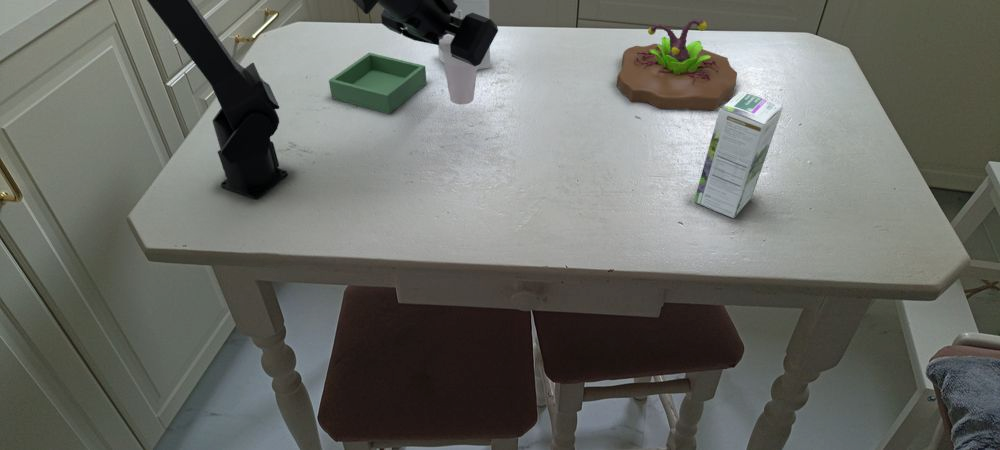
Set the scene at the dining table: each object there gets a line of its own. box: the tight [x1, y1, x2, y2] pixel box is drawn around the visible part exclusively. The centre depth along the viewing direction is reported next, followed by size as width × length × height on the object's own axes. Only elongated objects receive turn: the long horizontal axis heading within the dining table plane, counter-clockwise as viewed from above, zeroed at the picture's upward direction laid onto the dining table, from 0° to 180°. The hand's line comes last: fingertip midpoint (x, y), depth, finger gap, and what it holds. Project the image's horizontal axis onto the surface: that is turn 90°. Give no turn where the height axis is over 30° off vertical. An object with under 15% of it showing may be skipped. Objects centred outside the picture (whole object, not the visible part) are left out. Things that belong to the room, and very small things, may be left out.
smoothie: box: [439, 10, 478, 105], centre depth 97 cm, size 6×6×14 cm
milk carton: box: [437, 0, 491, 71], centre depth 110 cm, size 7×7×19 cm
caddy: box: [328, 52, 427, 115], centre depth 107 cm, size 11×11×3 cm
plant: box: [616, 18, 738, 111], centre depth 107 cm, size 20×20×11 cm
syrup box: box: [693, 91, 784, 219], centre depth 81 cm, size 6×6×14 cm
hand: (467, 50), depth 97 cm, fingers closed on smoothie, 6 cm apart
